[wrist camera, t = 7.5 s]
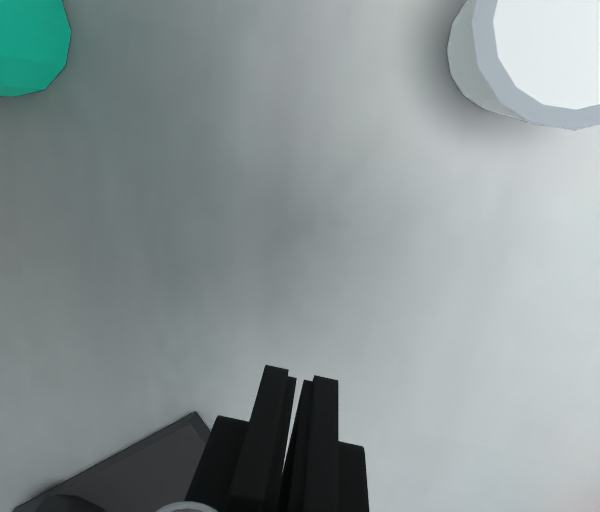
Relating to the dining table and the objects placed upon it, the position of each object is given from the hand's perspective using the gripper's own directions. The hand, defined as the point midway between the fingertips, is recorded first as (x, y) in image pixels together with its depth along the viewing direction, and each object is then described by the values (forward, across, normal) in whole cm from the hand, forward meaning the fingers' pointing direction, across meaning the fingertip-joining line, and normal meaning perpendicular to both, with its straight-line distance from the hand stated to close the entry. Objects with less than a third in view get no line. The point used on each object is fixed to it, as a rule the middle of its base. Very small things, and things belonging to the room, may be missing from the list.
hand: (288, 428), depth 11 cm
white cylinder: (+15, -6, -11) cm, 20 cm away
